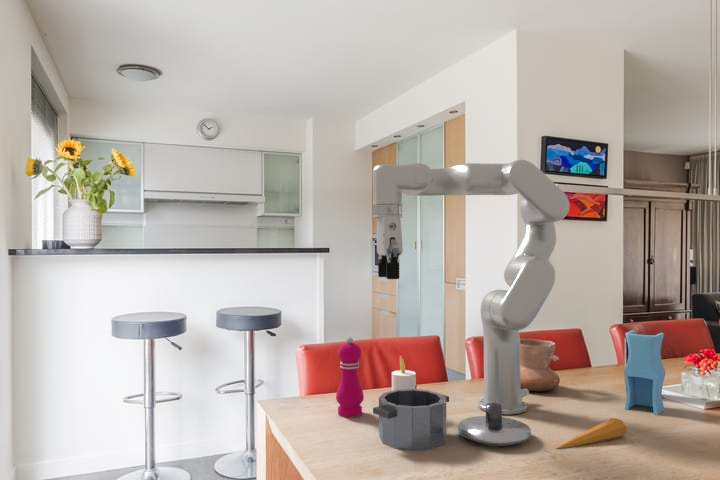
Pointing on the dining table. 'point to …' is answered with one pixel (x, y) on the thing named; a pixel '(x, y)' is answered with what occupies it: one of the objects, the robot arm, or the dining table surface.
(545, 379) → the ceramic jug
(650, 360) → the blue tall piece
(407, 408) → the pot
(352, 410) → the pepper mill
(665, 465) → the dining table surface
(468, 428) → the lid
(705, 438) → the dining table surface
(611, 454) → the dining table surface
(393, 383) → the candle
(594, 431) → the carrot
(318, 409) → the dining table surface
